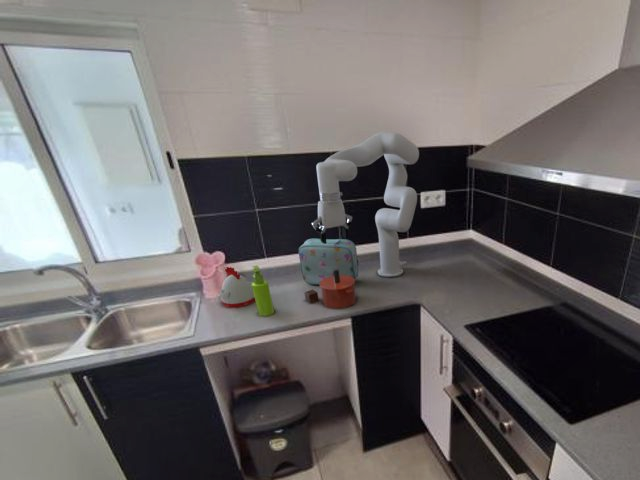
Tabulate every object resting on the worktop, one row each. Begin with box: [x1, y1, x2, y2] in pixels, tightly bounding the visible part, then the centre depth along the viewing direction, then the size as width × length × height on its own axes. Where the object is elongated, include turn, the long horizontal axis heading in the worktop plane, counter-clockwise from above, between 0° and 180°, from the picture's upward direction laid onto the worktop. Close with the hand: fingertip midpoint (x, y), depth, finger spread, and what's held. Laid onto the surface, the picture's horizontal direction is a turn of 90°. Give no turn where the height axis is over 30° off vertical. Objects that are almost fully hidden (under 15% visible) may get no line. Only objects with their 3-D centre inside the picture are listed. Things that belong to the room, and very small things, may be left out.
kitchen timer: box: [219, 266, 256, 308], centre depth 161 cm, size 14×14×15 cm
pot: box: [320, 284, 357, 310], centre depth 160 cm, size 14×19×8 cm
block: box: [304, 289, 320, 304], centre depth 162 cm, size 4×4×4 cm
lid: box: [318, 269, 356, 291], centre depth 157 cm, size 15×15×7 cm
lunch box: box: [298, 238, 361, 285], centre depth 175 cm, size 27×10×21 cm, turn 84°
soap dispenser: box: [252, 265, 275, 317], centre depth 149 cm, size 6×7×20 cm
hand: (334, 240), depth 153 cm, fingers open, 9 cm apart
